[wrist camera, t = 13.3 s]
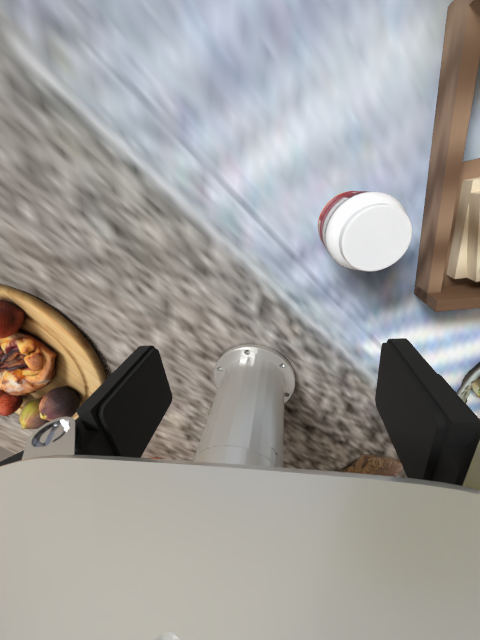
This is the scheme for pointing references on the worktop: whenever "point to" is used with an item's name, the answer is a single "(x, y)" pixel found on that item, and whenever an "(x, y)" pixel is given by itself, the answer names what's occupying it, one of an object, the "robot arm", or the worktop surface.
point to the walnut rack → (450, 162)
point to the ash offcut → (473, 237)
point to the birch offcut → (461, 231)
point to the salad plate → (470, 383)
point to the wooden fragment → (375, 466)
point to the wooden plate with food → (42, 361)
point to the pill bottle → (365, 230)
